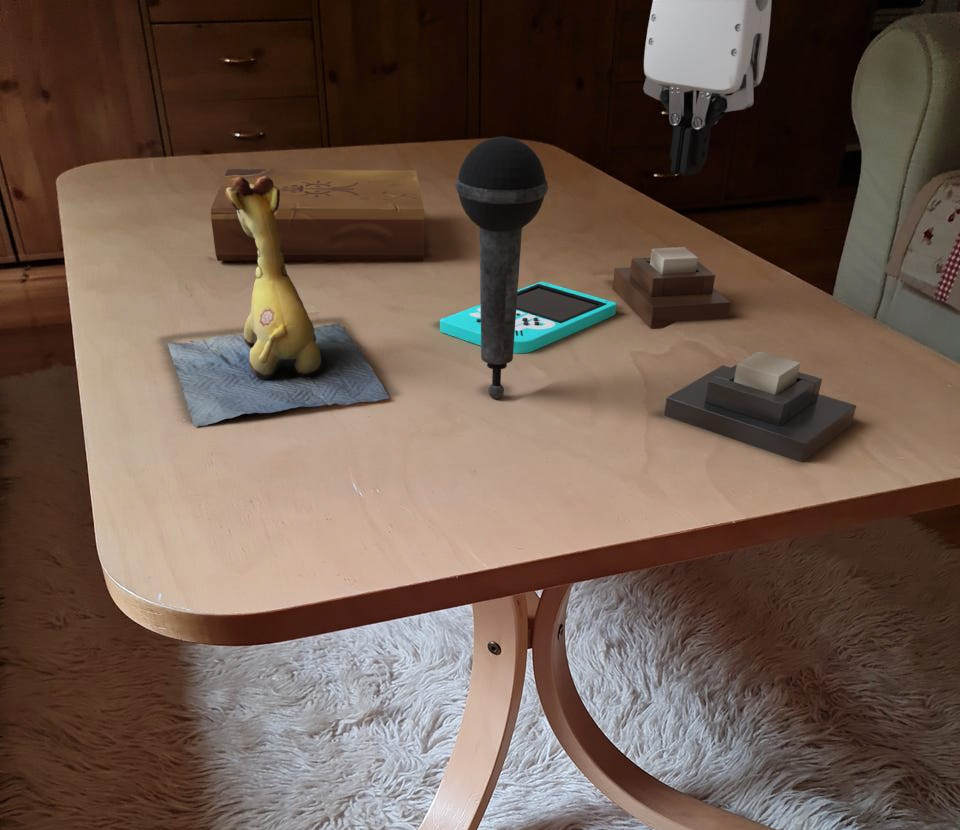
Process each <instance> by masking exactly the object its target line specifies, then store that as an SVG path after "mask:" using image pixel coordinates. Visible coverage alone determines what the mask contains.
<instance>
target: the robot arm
mask: <svg viewBox="0 0 960 830" xmlns="http://www.w3.org/2000/svg"><path fill="white" fill-rule="evenodd" d="M772 2H773V1H772V0H652V4H651V9H650V14H649V20H648V25H647V30H646V31H647V32H646V39H645V45H644V55H643V73H644V75H645V81H644V82H643V88H642V90H643V92H644V94H645V95H647V96H649V97H651V98H653V99H655V100H657V101H660V102H661V103H662V105H663V107H664V109H665V110H666V112H667V114H668V120H669V123H670V125H671V126H673V129H672V130H673V131H672V138H671V145H670V154H669V160H670V161H671V164H670V174H673V175H679V174H680V175H681V176H684V177H689V176H692V175H695V174H698V173H701V172H702V171H703V167H704V165H705V164H706V162H707V158H708V151H709V145H710V137H711V132H712V127H713V126H716V124H718V122H719V120H720V119H721V118H722V117H724V116H725V115H726V114H727V113H728V112H736V111H743V110H746V109H749V108H751V107H752V106H753V105H754V101H755V100H754V99H755V98H754V97H755V96H754V94H755V93H754V88H756V87H757V86H759V85H760V84H761V81H762V80H763V77H764V72H765V67H766V60H767V55H768V54H767V53H768V44H769V36H770V26H771V15H772ZM697 91H699V92H698V96H697ZM727 94H730V95H727Z"/></svg>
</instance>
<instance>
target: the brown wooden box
mask: <svg viewBox="0 0 960 830" xmlns="http://www.w3.org/2000/svg"><path fill="white" fill-rule="evenodd" d="M263 176H267V177H269V178H270V179H271V180H272V181H273V183H274V184H273V185H274V187H277V188H278V189H279V190H280V201H279V207H278V209H277V210H276V211H275V212H274V216H275V220H276V227H277V231H278V233H279V236H280V238H281V246H282V254H283V258H284V262H351V261H352V262H353V261H354V262H363V261H364V262H370V261H371V262H380V261H381V262H382V261H384V262H388V261H391V262H392V261H395V262H400V261H401V262H402V261H403V262H405V261H406V262H407V261H408V262H409V261H412V262H413V261H414V262H415V261H416V262H417V261H420V262H421V261H425V209H424V204H423V199H422V194H421V193H422V192H421V189H420V184H419V179H418V173H417V170H415V169H414V170H413V169H411V170H409V169H408V170H407V169H406V170H405V169H404V170H403V169H400V170H399V169H397V170H396V169H280V168H279V169H278V168H277V169H271V168H269V169H265V168H264V169H263V168H261V169H260V168H258V169H257V168H255V169H254V168H253V169H251V168H227V169H226V172H225V173H224V177H223V179H222V181H221V182H220V185H219V188H218V189H217V193H216V195H215V198H214V200H213V202H212V205H211V207H210V219H211V220H210V222H211V228H212V229H211V230H212V237H213V243H214V251H215V258H216V260H217V262H258V248H257V246H256V242H255V238H252V237H250V236H248V235H247V234H246V233H245V231H244V230H243V228H242V225H241V223H240V221H239V218H238V214H237V210H236V209H235V208H234V207H233V206H232V205H231V203H230V202H229V200H228V198H227V197H226V193H225V191H226V189H227V188H232V187H233V181H234V179H235V178H237V177H242V178H244V179H245V180H247V181H248V183H249V184H253V185H254V184H255V182H256V181H257V179H258V178H261V177H263Z"/></svg>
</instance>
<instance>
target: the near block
mask: <svg viewBox="0 0 960 830" xmlns="http://www.w3.org/2000/svg"><path fill="white" fill-rule="evenodd" d="M737 364H738V363H736V364H735V365H733V366H727V365H724V364H722V365H721V366H719V367H717V368H715V369H714V370H712V371H710V372H709V373H707V374H705V375H703V376H702V377H700V378H698V379H696V380H694V381H692V382H691V383H689V384H688V385H686V386H683V387H681V389H679V390H677V391H675V392H674V393H672V394H670V395H668V396H666V399H665V400H666V401H665V407H664V415H663V416H664V417H666V418H669V419H673V420H676V421H677V422H678V421H679V422H681V423H684V424H687V425H690V426H693V427H695V428H699V429H701V430H705V431H708V432H710V433H713V434H717V435H719V436H722V437H726V438H728V439H731V440H734V441H737V442H740V443H743V444H746V445H749V446H752V447H754V448H758V449H760V450H764V451H766V452H770V453H772V454H776V455H778V456H781V457H783V458H787V459H790V460H793V461H796V462H799V463H803V462H804V461H805V460H806V459H808V458H809V457H810V456H812V455H814V454H815V453H816V452H817V451H818V450H819V449H821V448H823V447H824V446H825V445H826V444H828V443H829V442H830V441H831V440H833V439H835V437H837V436H838V435H840V433H842V432H843V431H845V430H846V429H848V427H850V426H851V425H852V424H853V422H854V421H853V420H854V417H855V414H856V409H857V405H856V404H853V403H850V402H847V401H843V400H841V399H840V400H839V399H837V398H833V397H830V396H827V395H823V394H820V390H821V386H822V381H823V378H821V377H819V376H818V377H817V376H815V375H811V374H807V373H803V372H800V371H799V372H798V377H797V381H796V384H794V385H793V386H791V387H789V388H788V389H786V390H785V391H783V392H782V393H780V394H779V395H775V394H772V393H768V392H765V391H762V390H759V389H755V388H752V387H749V386H746V385H742V384H739V383H736V382H734V378H735V372H736V367H737Z"/></svg>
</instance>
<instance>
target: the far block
mask: <svg viewBox="0 0 960 830" xmlns="http://www.w3.org/2000/svg"><path fill="white" fill-rule="evenodd" d="M650 259H651V256H650V257H634V258H633V257H632V258H631V263H630V267H615V268H614V271H613V280H612V290H613V291H614V292H615V293H616V294H617V295H618V296H619V297H620V299H622V300H623V302H624V303H626V305H627V306H628V307H629V308H630V309H631V310H632V312H634V313H635V314H636V315H637V317H639V318H640V320H642V322H643V323H644V324H645V325H646V326H647V327H648V328H649V329H650V330H656V329H665V328H668V327H669V326H671V325H673V324H675V323H677V322H689V321H690V322H691V321H708V320H724V319H725V320H726V319H729V315H730V309H731V301H730V300H729V299H727V298H726V297H725V296H724V295H723V294H721V293H720V292H719V291H718V290H717V289H715V287H714V286H715V279H716V274H714V273H713V272H712V271H711V270H709V268H707V267H706V266H705V265H703V264H702V263H701V262H700V261H699V260H698V261H697V268H696V272H692V273H673V274H660V273H658V272H657V271H656V270H655V269H654V268H653V267H652V266H651V265H650Z"/></svg>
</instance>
